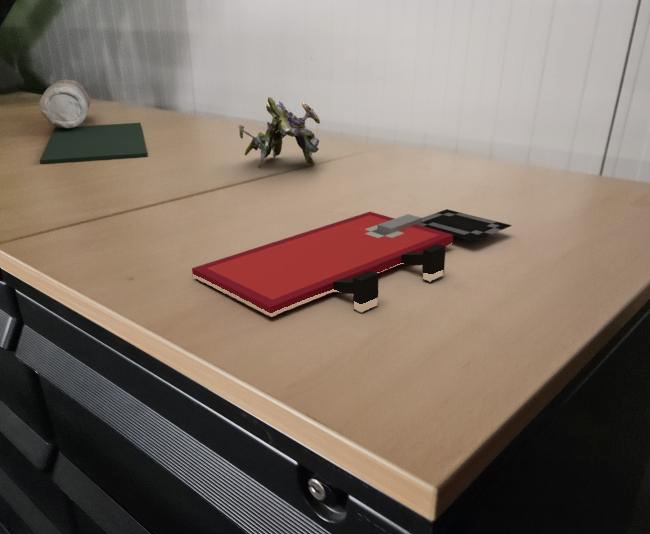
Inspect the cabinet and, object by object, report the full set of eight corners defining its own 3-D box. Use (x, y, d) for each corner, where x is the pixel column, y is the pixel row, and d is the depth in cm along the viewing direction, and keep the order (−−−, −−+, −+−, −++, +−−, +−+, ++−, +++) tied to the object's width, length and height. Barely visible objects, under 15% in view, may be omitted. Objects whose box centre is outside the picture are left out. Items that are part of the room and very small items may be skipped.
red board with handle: (527, 238, 63) (414, 209, 73) (531, 211, 61) (415, 185, 71) (302, 340, 45) (193, 282, 55) (301, 305, 44) (189, 253, 54)
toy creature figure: (309, 199, 95) (339, 142, 86) (242, 195, 91) (266, 134, 81) (292, 145, 100) (319, 86, 91) (228, 138, 95) (249, 75, 86)
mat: (40, 164, 94) (39, 160, 94) (55, 130, 119) (54, 127, 119) (148, 156, 98) (147, 152, 98) (140, 125, 123) (140, 122, 123)
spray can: (43, 76, 126) (33, 87, 109) (85, 75, 128) (82, 85, 111) (52, 119, 130) (43, 136, 113) (93, 117, 132) (90, 134, 115)
